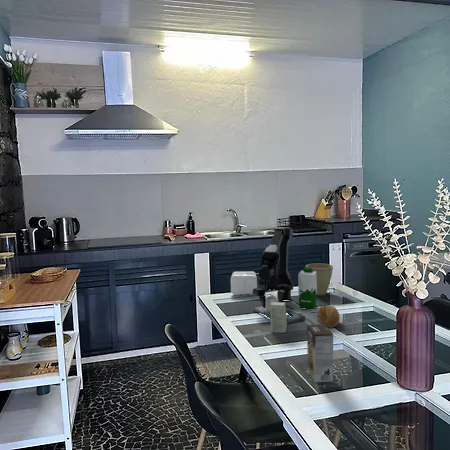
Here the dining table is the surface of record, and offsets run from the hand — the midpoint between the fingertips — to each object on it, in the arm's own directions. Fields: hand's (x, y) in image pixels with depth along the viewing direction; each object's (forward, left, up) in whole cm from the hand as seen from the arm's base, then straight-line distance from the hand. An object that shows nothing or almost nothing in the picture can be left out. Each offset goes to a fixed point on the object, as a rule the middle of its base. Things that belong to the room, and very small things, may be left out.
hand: (272, 306), depth 206 cm
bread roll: (-13, +27, -3) cm, 30 cm away
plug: (0, 0, -3) cm, 3 cm away
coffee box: (+21, +66, -3) cm, 69 cm away
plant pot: (-40, -15, -3) cm, 43 cm away
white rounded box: (-4, -38, -3) cm, 38 cm away
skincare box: (+11, +24, -3) cm, 27 cm away
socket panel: (0, +6, -2) cm, 6 cm away
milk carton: (-19, +3, -3) cm, 19 cm away
